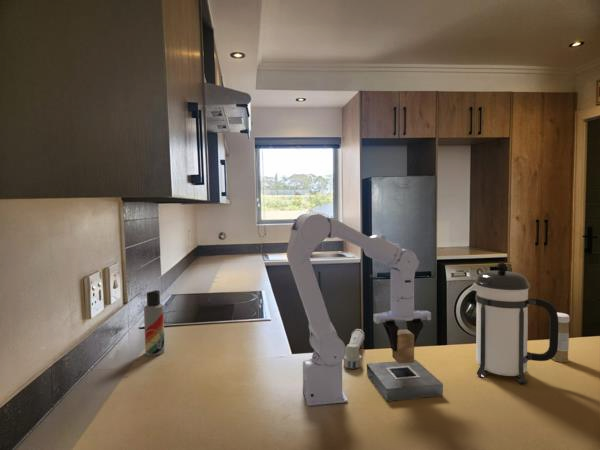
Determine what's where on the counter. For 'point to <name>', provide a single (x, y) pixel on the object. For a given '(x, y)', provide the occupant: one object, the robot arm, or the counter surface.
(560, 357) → the sprinkles bottle
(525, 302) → the coffee press
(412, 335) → the oak peg
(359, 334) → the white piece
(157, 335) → the lotion bottle
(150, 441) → the counter surface
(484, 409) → the counter surface
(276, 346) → the counter surface
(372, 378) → the grey socket base
